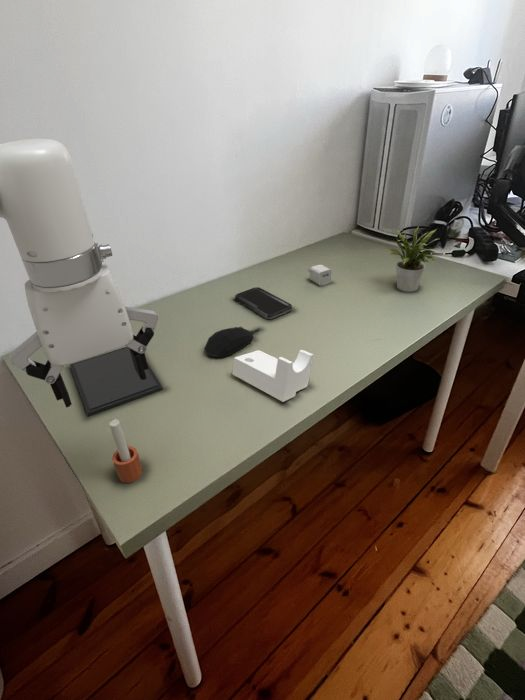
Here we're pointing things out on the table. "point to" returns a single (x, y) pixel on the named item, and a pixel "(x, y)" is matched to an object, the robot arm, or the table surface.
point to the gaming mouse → (228, 341)
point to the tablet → (111, 381)
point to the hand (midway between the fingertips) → (105, 387)
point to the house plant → (412, 261)
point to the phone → (263, 303)
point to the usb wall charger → (320, 274)
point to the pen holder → (128, 466)
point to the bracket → (274, 373)
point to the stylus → (120, 440)
